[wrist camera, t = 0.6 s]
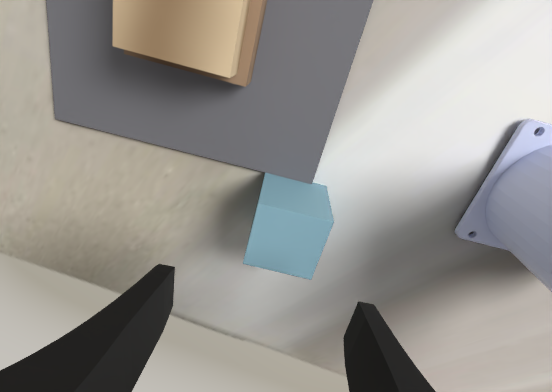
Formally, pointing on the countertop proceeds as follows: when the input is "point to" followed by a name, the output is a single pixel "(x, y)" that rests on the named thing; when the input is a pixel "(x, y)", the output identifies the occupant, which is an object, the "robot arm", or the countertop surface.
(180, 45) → the tower mid
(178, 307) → the countertop surface
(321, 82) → the mat
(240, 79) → the tower base
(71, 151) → the countertop surface
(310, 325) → the countertop surface
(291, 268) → the block
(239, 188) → the countertop surface
